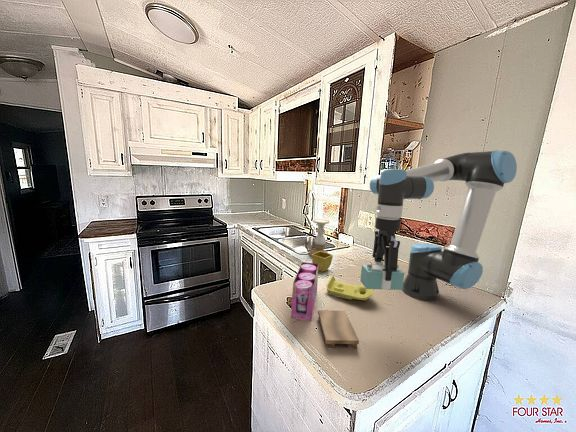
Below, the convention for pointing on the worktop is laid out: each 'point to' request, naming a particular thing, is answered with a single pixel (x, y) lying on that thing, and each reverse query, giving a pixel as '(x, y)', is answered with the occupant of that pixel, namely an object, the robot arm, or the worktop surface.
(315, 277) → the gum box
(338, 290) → the plastic component
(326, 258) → the flower pot
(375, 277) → the housing
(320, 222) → the candle holder
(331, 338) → the stand
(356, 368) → the worktop surface
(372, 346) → the worktop surface
